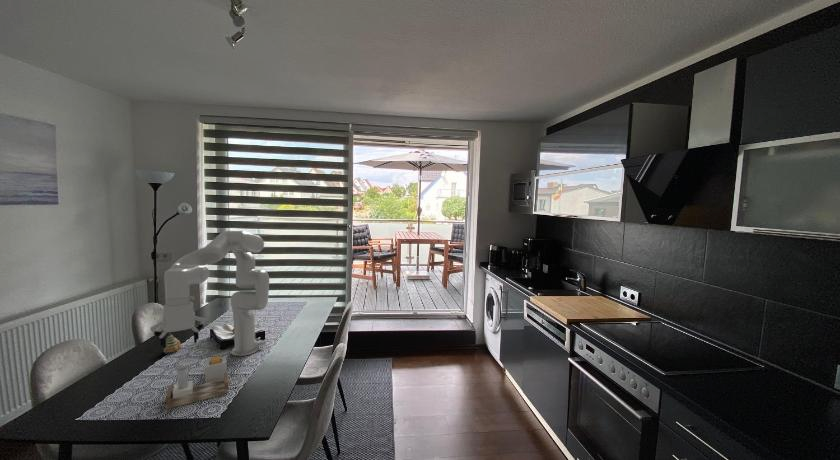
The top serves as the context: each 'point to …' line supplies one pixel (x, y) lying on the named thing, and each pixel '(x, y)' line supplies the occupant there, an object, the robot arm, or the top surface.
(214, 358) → the button
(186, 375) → the grey pedestal
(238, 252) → the robot arm
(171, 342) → the ornament
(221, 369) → the white box
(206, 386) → the brown wooden tray
